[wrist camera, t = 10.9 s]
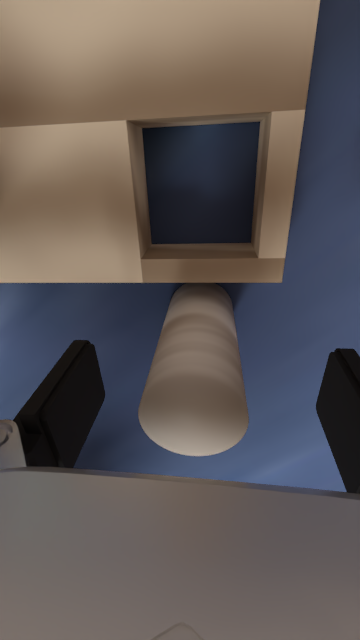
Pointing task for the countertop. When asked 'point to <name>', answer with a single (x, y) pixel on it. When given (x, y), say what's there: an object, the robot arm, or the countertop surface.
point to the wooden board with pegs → (126, 130)
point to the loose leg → (196, 376)
